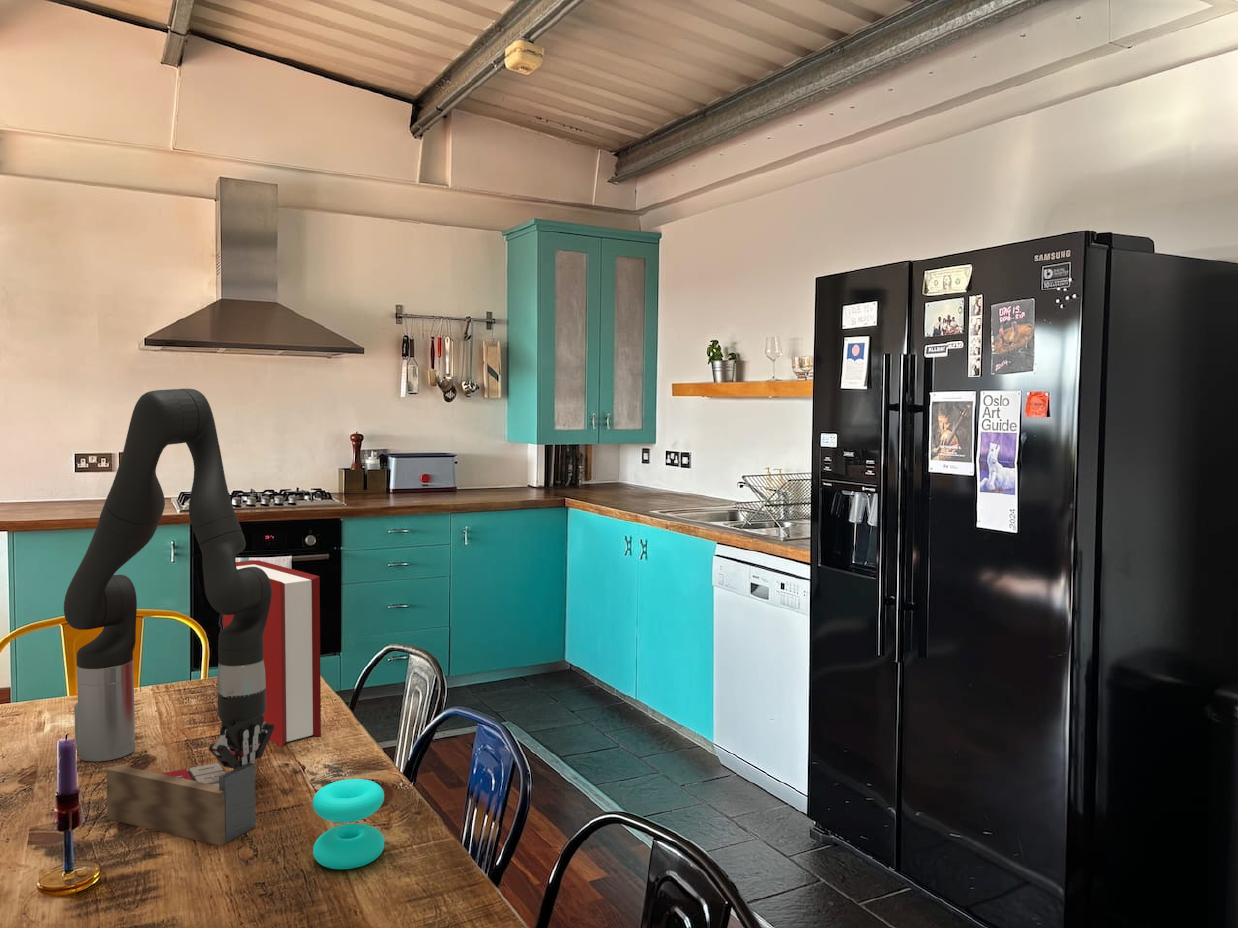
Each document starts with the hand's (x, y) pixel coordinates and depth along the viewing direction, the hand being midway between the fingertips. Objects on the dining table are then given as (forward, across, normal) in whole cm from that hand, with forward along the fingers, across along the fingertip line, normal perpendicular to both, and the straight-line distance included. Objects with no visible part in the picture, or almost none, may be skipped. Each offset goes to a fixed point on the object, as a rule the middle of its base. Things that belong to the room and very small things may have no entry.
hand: (243, 787), depth 159 cm
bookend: (+1, +13, +11) cm, 17 cm away
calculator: (+1, +6, -5) cm, 8 cm away
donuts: (+1, +12, +31) cm, 33 cm away
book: (+1, -28, -20) cm, 34 cm away
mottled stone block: (+1, +13, 0) cm, 13 cm away
